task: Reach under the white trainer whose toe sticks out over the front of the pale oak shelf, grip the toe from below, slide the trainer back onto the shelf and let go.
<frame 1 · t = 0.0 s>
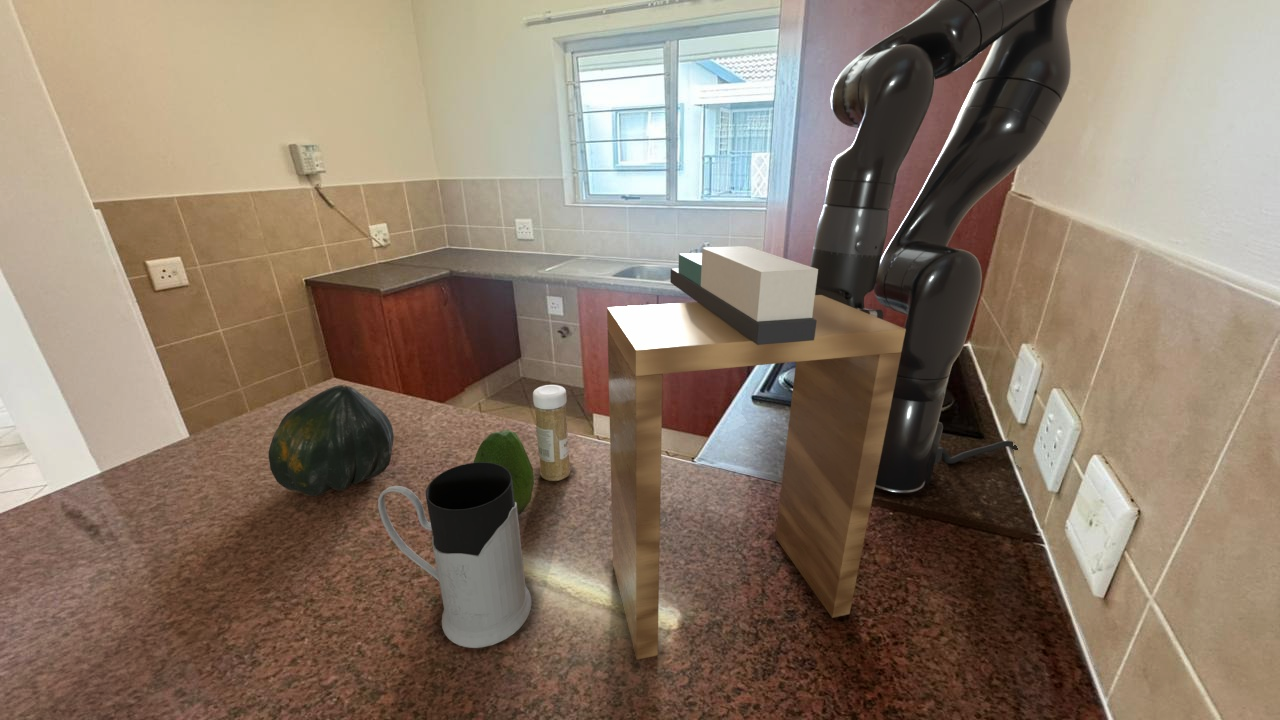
hand: (821, 376, 64), 17 cm above the countertop, tool pointing down, fingers open, 8 cm apart
avocado: (505, 515, 65), on the countertop
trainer: (727, 305, 46), point 30 cm above the countertop, touching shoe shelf
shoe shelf: (724, 588, 53), on the countertop
glass holder: (463, 607, 51), on the countertop
spice jar: (555, 474, 74), on the countertop
squash: (344, 478, 73), on the countertop
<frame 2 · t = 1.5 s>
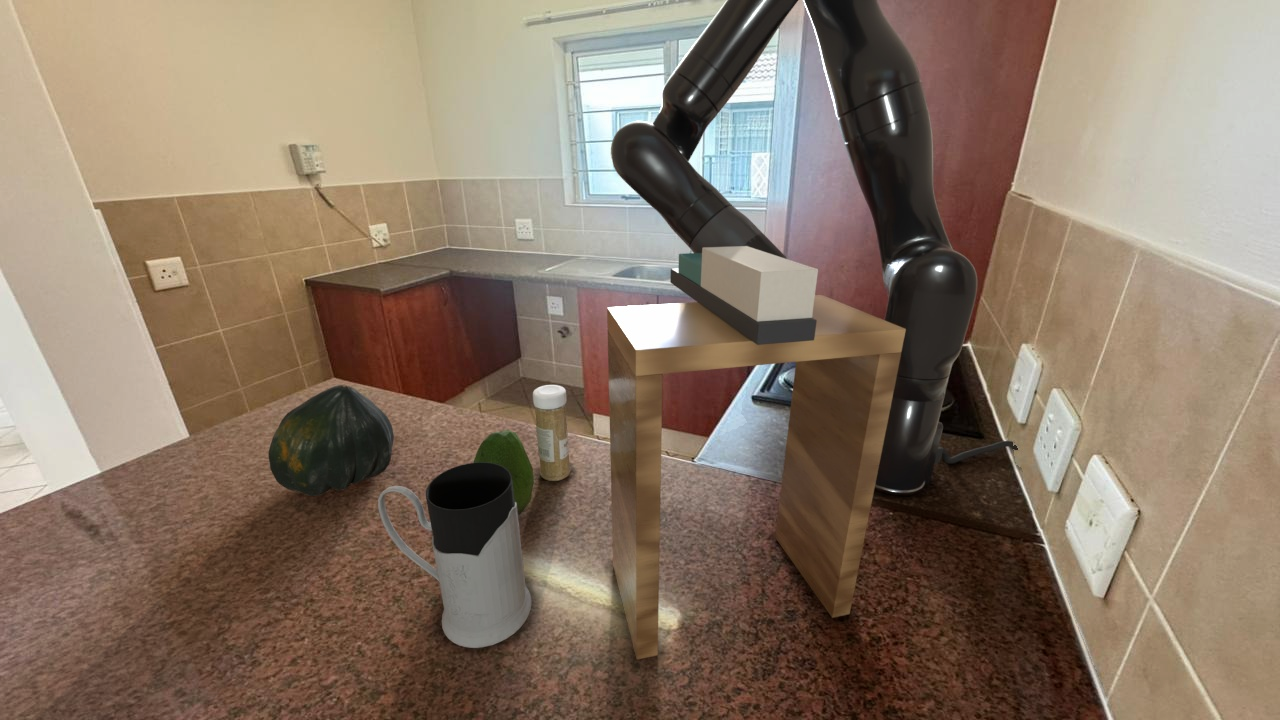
hand: (834, 355, 57), 22 cm above the countertop, tool tilted 50°, fingers open, 7 cm apart
nothing on the countertop moved.
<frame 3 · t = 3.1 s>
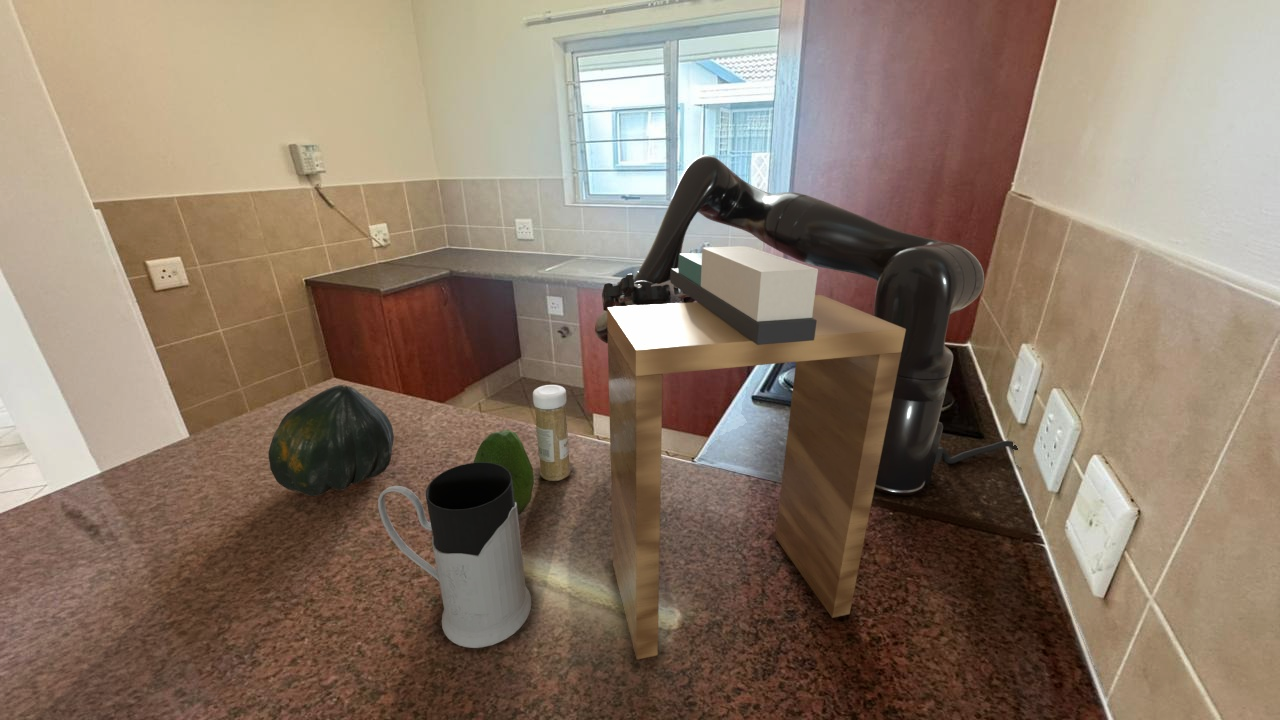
hand: (662, 279, 67), 28 cm above the countertop, tool pointing upward, fingers open, 8 cm apart
nothing on the countertop moved.
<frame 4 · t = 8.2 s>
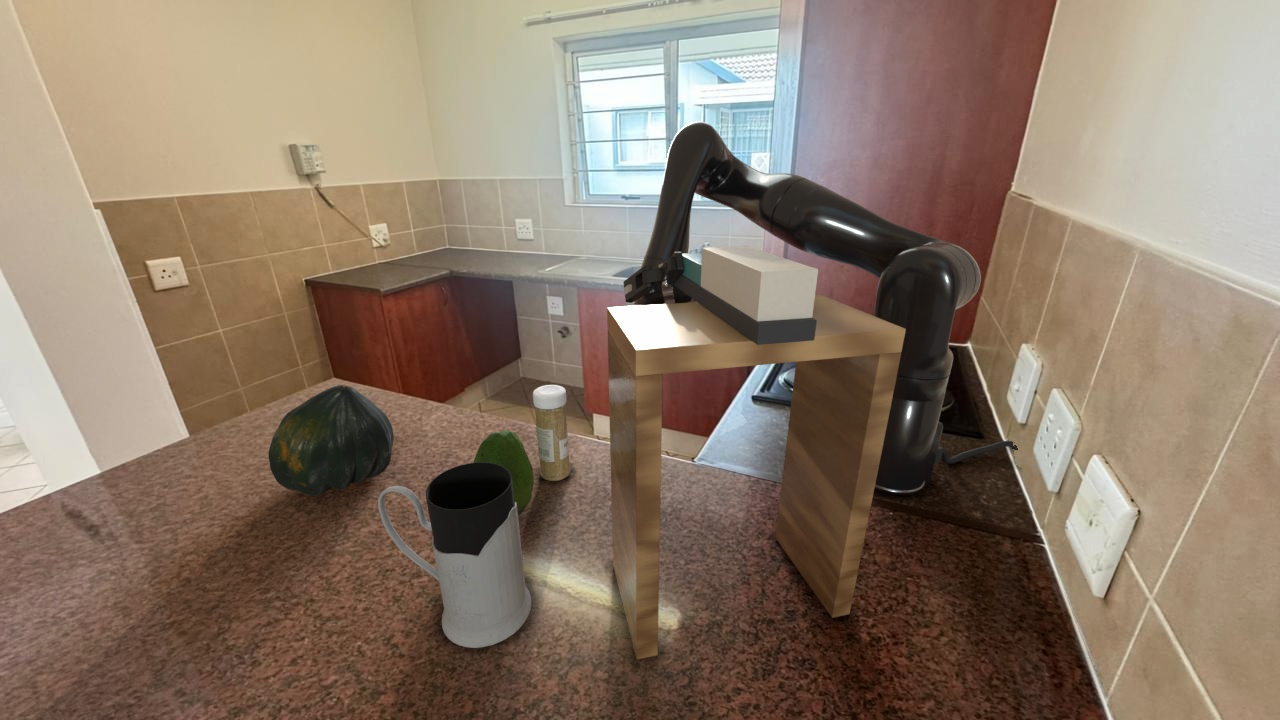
hand: (704, 260, 51), 33 cm above the countertop, tool pointing upward, fingers closed on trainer, 4 cm apart
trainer: (727, 305, 46), point 30 cm above the countertop, touching gripper, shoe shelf
everything else where it was.
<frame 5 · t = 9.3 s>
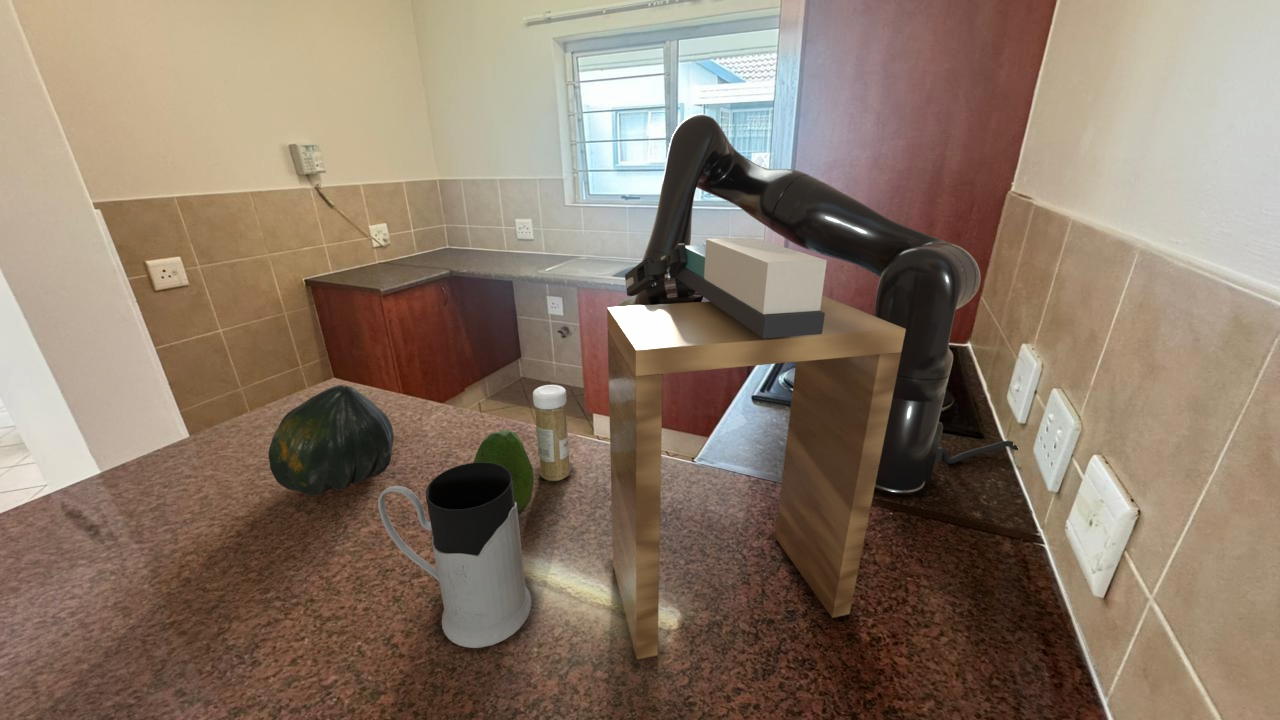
hand: (707, 252, 50), 34 cm above the countertop, tool pointing upward, fingers closed on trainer, 4 cm apart
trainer: (731, 298, 45), point 31 cm above the countertop, touching gripper
everything else where it was.
when the fingers open (33 cm above the countertop, at t = 10.9 s): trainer stays where it is, resting on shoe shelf.
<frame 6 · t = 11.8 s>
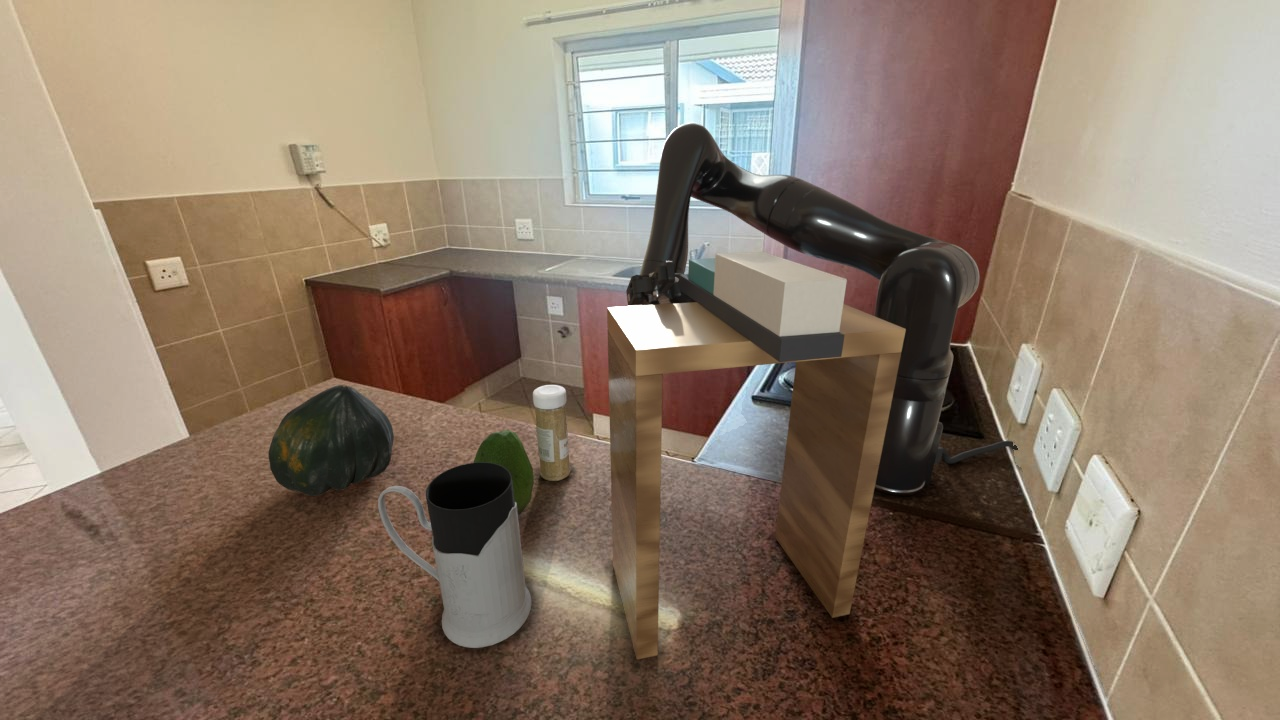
hand: (712, 268, 49), 33 cm above the countertop, tool pointing upward, fingers open, 8 cm apart
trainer: (742, 315, 43), point 30 cm above the countertop, touching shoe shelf
everything else where it was.
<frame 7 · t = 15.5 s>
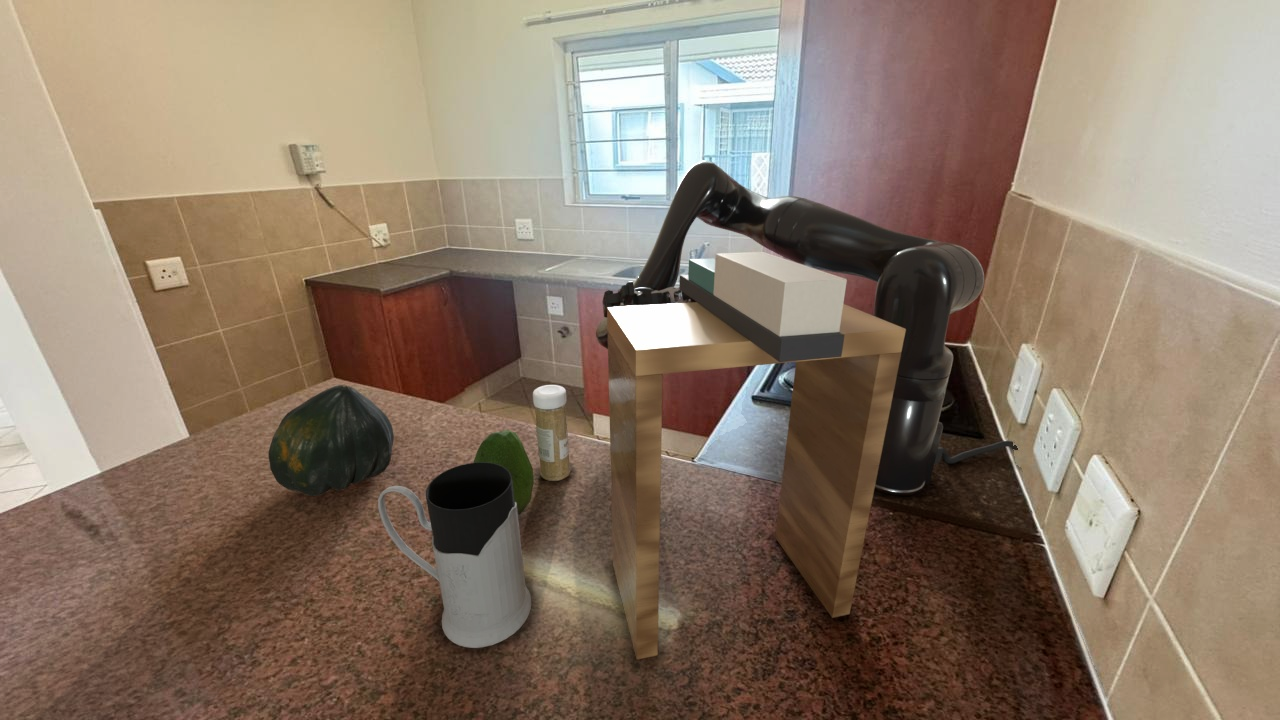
hand: (662, 286, 68), 27 cm above the countertop, tool pointing upward, fingers open, 8 cm apart
nothing on the countertop moved.
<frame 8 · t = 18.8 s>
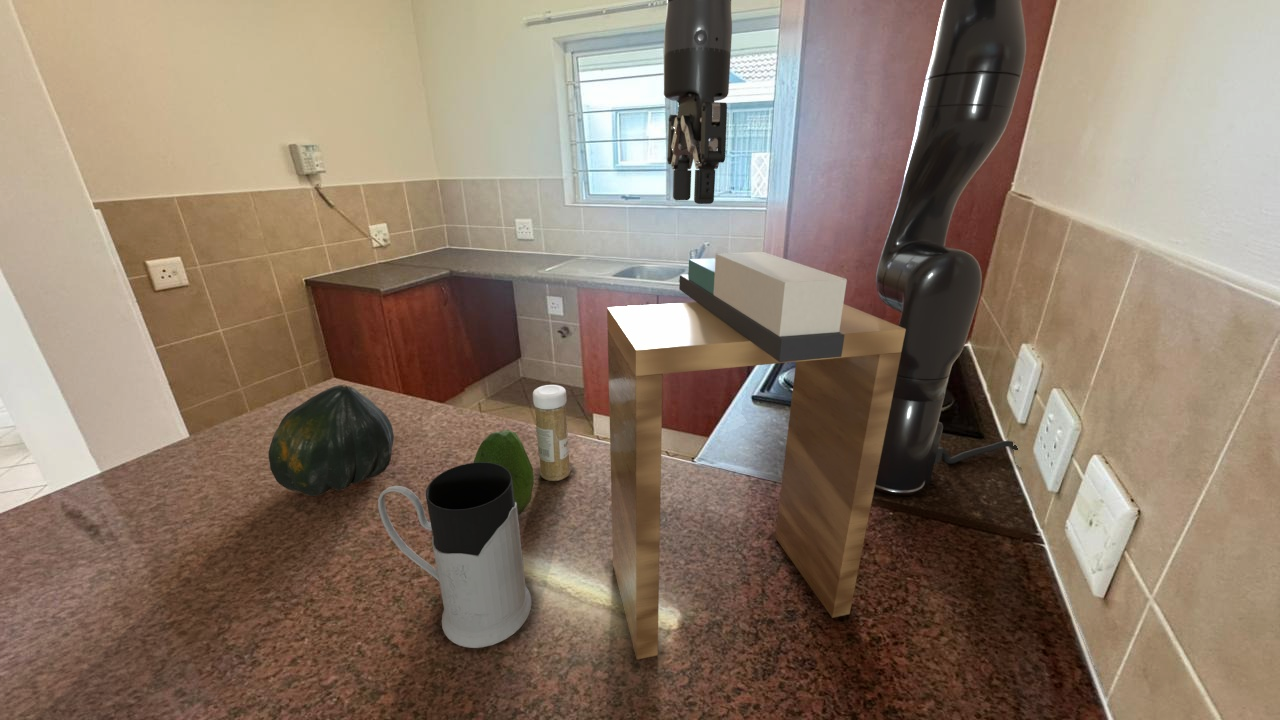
hand: (691, 201, 62), 38 cm above the countertop, tool pointing down, fingers open, 8 cm apart
nothing on the countertop moved.
at the end: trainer 0.7 cm from the target spot, point 30.0 cm above the countertop; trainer tilted 0°; the gripper is holding nothing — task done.
